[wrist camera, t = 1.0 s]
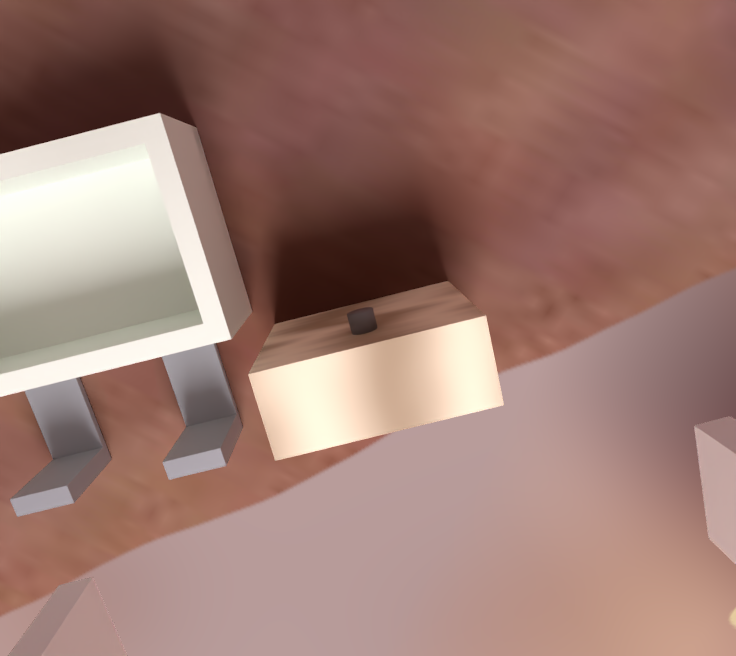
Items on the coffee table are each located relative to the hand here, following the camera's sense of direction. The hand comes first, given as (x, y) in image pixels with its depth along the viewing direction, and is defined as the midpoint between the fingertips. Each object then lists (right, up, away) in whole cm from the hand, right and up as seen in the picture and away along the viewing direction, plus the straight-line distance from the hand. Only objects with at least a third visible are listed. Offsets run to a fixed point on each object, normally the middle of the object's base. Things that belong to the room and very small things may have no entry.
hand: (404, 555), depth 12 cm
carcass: (-15, +5, +19) cm, 25 cm away
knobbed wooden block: (-1, +4, +20) cm, 21 cm away
